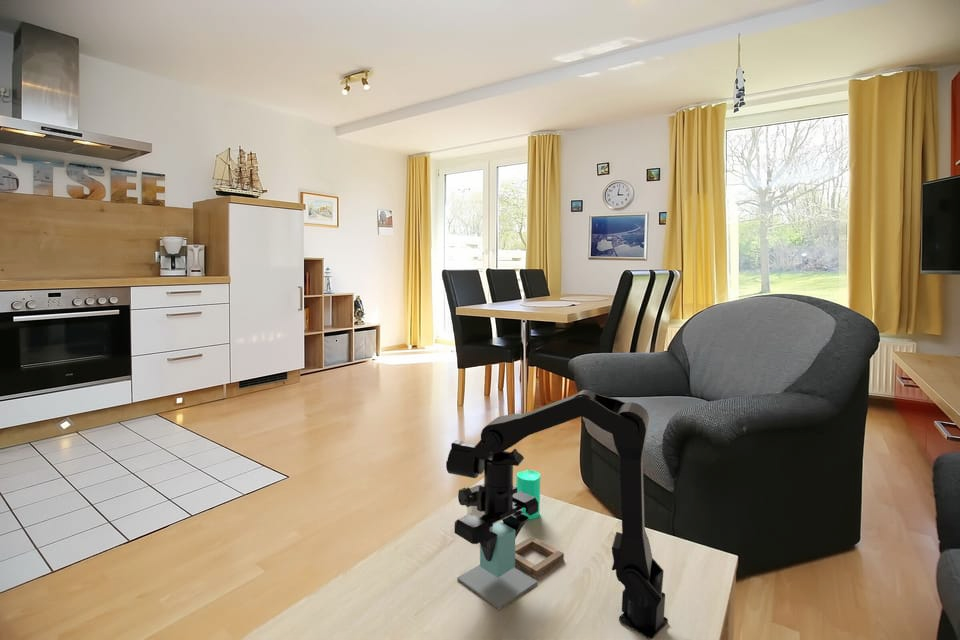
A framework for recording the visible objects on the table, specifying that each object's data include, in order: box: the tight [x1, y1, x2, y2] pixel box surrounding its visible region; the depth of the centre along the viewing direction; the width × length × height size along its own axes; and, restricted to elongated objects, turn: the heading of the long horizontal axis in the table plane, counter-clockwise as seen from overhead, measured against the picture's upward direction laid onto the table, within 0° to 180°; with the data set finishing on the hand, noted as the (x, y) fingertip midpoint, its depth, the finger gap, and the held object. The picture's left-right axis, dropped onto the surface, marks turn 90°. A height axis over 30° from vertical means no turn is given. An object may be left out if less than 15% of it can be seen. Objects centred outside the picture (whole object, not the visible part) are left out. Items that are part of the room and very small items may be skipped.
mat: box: [457, 564, 538, 610], centre depth 102 cm, size 12×11×1 cm
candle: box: [516, 468, 541, 520], centre depth 129 cm, size 6×6×12 cm
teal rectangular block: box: [479, 521, 516, 578], centre depth 101 cm, size 5×5×8 cm
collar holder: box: [515, 535, 565, 578], centre depth 110 cm, size 9×9×2 cm
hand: (497, 555), depth 101 cm, fingers closed on teal rectangular block, 5 cm apart
